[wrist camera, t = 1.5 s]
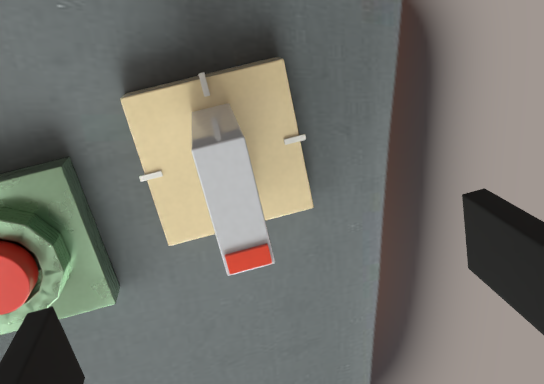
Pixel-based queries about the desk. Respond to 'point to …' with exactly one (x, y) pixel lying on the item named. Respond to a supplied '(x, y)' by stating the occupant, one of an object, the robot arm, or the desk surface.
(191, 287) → the desk surface
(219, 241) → the tap handle
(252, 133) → the panel
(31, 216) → the control block
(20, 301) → the stop button
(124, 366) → the desk surface
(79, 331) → the desk surface
